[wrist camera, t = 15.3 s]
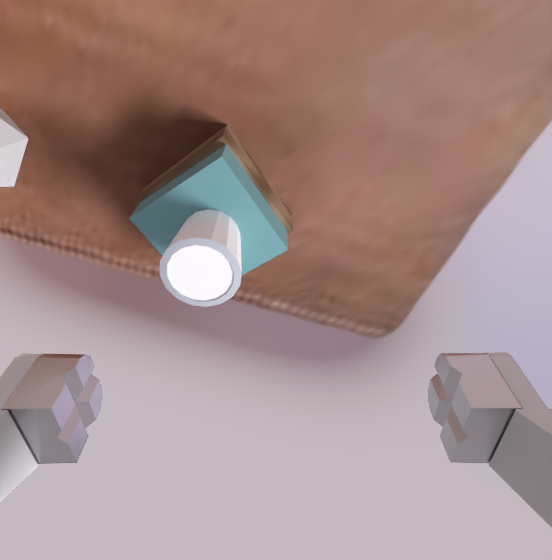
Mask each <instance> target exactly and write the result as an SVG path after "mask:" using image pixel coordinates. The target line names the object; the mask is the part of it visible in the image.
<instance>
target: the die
mask: <svg viewBox="0 0 552 560" xmlns="http://www.w3.org/2000/svg"><path fill="white" fill-rule="evenodd" d="M27 142H28V137H27V136H26V135H25V134H24V133H23V132H22V131H21V130H20V128H19V127H18V126H17V125H16V124H15V123H14V122H13V121H12V120H11V118H10V117H9V116H8V115H7V114H6V113H5V112H4V111H3V110H2V108H0V187H14V185H15V182H16V178H17V175H18V172H19V169H20V165H21V162H22V159H23V155H24V152H25V149H26V145H27Z"/></svg>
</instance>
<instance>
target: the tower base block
mask: <svg viewBox="0 0 552 560" xmlns="http://www.w3.org/2000/svg"><path fill="white" fill-rule="evenodd" d="M226 144H227V145H228V147H229V148H230V150H231V151H232V153H233V154H234V155H235V157H236V158H237V160H238V161H239V163H240V164H241V166H242V167H243V168H244V170H245V171H246V173H247V174H248V176H249V177H250V179H251V180H252V181H253V183H254V184H255V186H256V187H257V189H258V190H259V192H260V193H261V194H262V196H263V197H264V199H265V200H266V202H267V203H268V205H269V206H270V207H271V209H272V210H273V212H274V213H275V215H276V216H277V218H278V219H279V220H280V222H281V223H282V225H283V226H284V228H285V229H286V231H287V234H288V233H289V232H291V231H293V227H292V213H291V211H290V210H289V209H288V207H287V206H286V205H285V203H284V202H283V200H282V199H281V198H280V196H279V195H278V194H277V192H276V191H275V189H274V188H273V187H272V185H271V184H270V183H269V181H268V180H267V178H266V177H265V176H264V174H263V173H262V172H261V170H260V169H259V167H258V166H257V165H256V163H255V162H254V161H253V159H252V158H251V156H250V155H249V154H248V152H247V151H246V149H245V148H244V147H243V145H242V144H241V143H240V141H239V140H238V138H237V137H236V136H235V134H234V133H233V132H232V130H231V129H230V127H229V126H228V125H226V126H225V127H224V128H222V129H221V130H220V131H219V132H217V133H216V134H215V135H213V136H212V137H211V138H209V139H208V140H207V141H205V142H204V143H203V144H201V145H200V146H199V147H197V148H196V149H195V150H193V151H192V152H191V153H189V154H188V155H187V156H185V157H184V158H183V159H181V160H180V161H179V162H178V163H176V164H175V165H174V166H172V167H171V168H170V169H168V170H167V171H166V172H164V173H163V174H162V175H160V176H159V177H158V178H156V179H155V180H154V181H152V182H151V183H150V184H148V185H147V186H146V187H144V189H143V190H142V191H141V193H140V194H139V195H138V197H137V198H136V199H135V201H134V202H133V203H132V204H133V205H134V206H135V207H136V208H137V206H138V205H139V204H140V202H141V201H143V200H144V199H146V198H147V197H149V196H150V195H152V194H153V193H155V192H156V191H158V190H159V189H161V188H162V187H164V186H165V185H167V184H168V183H169V182H171V181H172V180H174V179H175V178H177V177H178V176H180V175H181V174H183V173H184V172H186V171H187V170H189V169H190V168H192V167H193V166H195V165H196V164H197V163H199V162H200V161H202V160H203V159H205V158H206V157H208V156H209V155H211V154H212V153H214V152H215V151H217V150H218V149H220V148H221V147H223V146H224V145H226Z"/></svg>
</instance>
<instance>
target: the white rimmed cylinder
mask: <svg viewBox="0 0 552 560" xmlns="http://www.w3.org/2000/svg"><path fill="white" fill-rule="evenodd" d="M241 274H242V266H241V237H240V232H239V229H238V226H237V224H236V223H235V222H234V221H233V219H232V218H231V217H230V216H228V215H226V214H225V213H223V212H221V211H218V210H211V209H206V210H202V211H197V212H195V213H194V214H193V215H191V216H190V217H189V218H188V219H187V220H186V222H185V223H184V225H183V226H182V227H181V229H180V230H179V232H178V233H177V235H176V236H175V238H174V239H173V241H172V242H171V243H170V245H169V246H168V248H167V249H166V251H165V253H164V255H163V257H162V259H161V261H160V277H161V279H162V281H163V283H164V285H165V287H166V289H167V290H168V291H170V292H171V293H172V294H173V295H174V296H175V297H176V298H177V299H179V300H181V301H184V302H186V303H188V304H191V305H196V306H204V307H208V306H213V305H217V304H221V303H223V302H225V301H226V300H228V299H230V298H231V297H233V295H234V294H235V292H236V291H237V289H238V288H239V286H240V282H241Z"/></svg>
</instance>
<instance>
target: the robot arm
mask: <svg viewBox="0 0 552 560" xmlns="http://www.w3.org/2000/svg"><path fill="white" fill-rule="evenodd" d="M93 368H94V365H93V362H92V360H91V357H90V356H88V355H78V354H77V355H76V354H21V355H19V356H17V357H16V358H15V359H14V360H13V361H12V363H11V364H10V365H9V366H8V368H7V369H6V370H5V372H4V373H3V375H2V376H1V377H0V502H1V501H2V500H3V499H4V498H5V497H6V496H7V495H8V494H9V493H10V492H11V491H12V490H13V489H14V488H16V487H17V485H19V484H20V483H21V482H22V481H23V480H24V479H25V478H26V477H27V476H28V475H29V474H30V473H31V472H32V471H33V470H34V469H36V468H37V467H38V464H45V463H77V461H78V458H79V456H80V454H81V452H82V449H83V447H84V445H85V443H86V441H87V438H88V434H87V431H86V429H85V428H86V427H87V426H88V425H90V424H91V423H92V422H93V421H95V420H96V418H97V415H98V413H99V411H100V407H101V401H102V389H101V384H100V381H99V379H97V378H96V377H95V376H93V375H92V374H91V372H92V370H93ZM435 368H436V370H437V372H438V374H436V375H435V376H434V377H433V378H432V379H431V380H430V384H429V388H428V402H429V406H430V410H431V413H432V416H433V419H434V420H435V421H437V422H438V423H439V424H440V425H441V426H443V428H442V431H441V435H440V437H441V440H442V442H443V445H444V447H445V450H446V452H447V455H448V457H449V460H450V462H461V463H462V462H463V463H489V466H490V467H491V468H492V469H493V470H494V471H495V472H496V473H497V474H498V475H499V476H500V477H501V478H502V479H503V480H504V481H505V482H506V483H507V484H508V485H509V486H510V487H511V488H512V489H513V490H514V491H515V492H516V493H518V495H519V496H521V498H522V499H524V501H525V502H526V503H528V505H529V506H530V507H532V508H533V510H535V511H536V512H537V513H538V514H539V515H540V516H541V517H542V518H543V519H544V520H545V521H546V522H547V523H548V524H549V525H550V526H551V527H552V409H548V408H547V406H546V405H545V404H544V402H543V401H542V399H541V398H540V396H539V395H538V393H537V392H536V390H535V389H534V388H533V386H532V385H531V383H530V382H529V380H528V379H527V377H526V376H525V375H524V373H523V372H522V370H521V369H520V367H519V366H518V364H517V363H516V362H515V360H514V359H513V357H512V356H511V355H510V354H508V353H449V354H446V353H445V354H444V353H443V354H440V355H439V356H438V357H437V359H436V363H435Z"/></svg>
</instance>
